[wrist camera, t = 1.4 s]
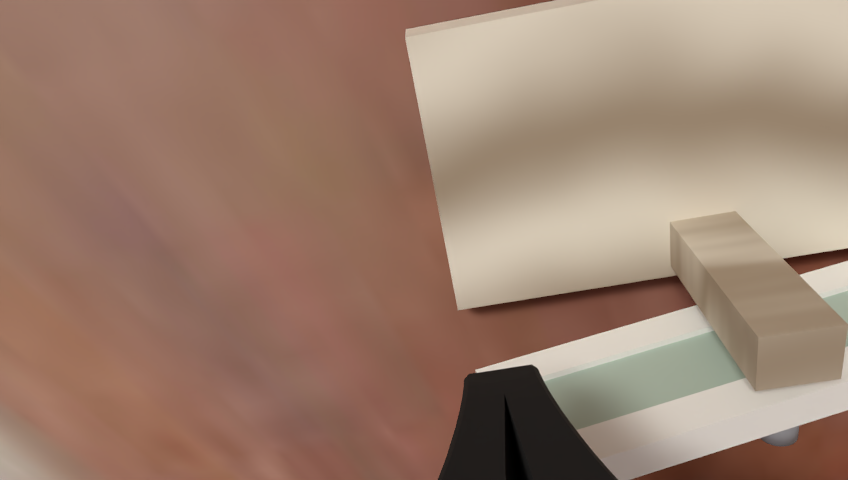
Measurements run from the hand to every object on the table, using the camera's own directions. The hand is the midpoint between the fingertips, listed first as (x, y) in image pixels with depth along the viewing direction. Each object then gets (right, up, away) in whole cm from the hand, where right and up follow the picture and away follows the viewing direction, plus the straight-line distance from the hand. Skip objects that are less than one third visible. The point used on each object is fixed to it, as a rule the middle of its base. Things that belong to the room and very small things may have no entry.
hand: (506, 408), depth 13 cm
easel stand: (+7, +7, +8) cm, 12 cm away
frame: (+7, +1, +8) cm, 11 cm away
